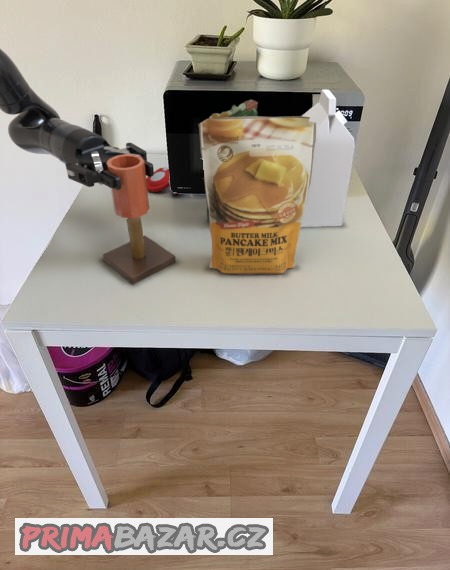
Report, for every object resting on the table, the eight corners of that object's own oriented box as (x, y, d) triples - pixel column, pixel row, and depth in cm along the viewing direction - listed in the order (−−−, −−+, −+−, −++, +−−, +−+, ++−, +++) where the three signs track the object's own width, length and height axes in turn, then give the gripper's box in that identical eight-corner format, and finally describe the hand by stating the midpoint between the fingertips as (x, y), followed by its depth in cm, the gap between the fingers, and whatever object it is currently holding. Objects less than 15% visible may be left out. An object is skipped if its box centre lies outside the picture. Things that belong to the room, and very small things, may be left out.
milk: (281, 200, 106) (293, 85, 89) (328, 199, 106) (349, 84, 90) (290, 227, 96) (305, 104, 80) (342, 226, 97) (367, 103, 80)
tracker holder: (135, 187, 108) (153, 162, 113) (143, 201, 111) (159, 176, 116) (178, 185, 102) (194, 159, 108) (185, 200, 105) (200, 174, 111)
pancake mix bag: (202, 254, 88) (198, 111, 70) (297, 254, 88) (318, 112, 71) (201, 275, 83) (197, 126, 65) (303, 275, 83) (326, 127, 65)
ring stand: (133, 284, 81) (126, 241, 75) (103, 260, 86) (94, 218, 80) (175, 262, 86) (172, 220, 80) (145, 241, 92) (140, 200, 86)
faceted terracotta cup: (119, 221, 76) (111, 171, 70) (111, 205, 80) (103, 157, 74) (153, 214, 78) (148, 165, 72) (143, 198, 82) (138, 152, 76)
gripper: (38, 139, 75) (95, 169, 67) (109, 119, 83) (167, 143, 75) (49, 180, 80) (103, 213, 71) (114, 157, 88) (170, 184, 79)
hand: (135, 177), depth 73 cm, fingers closed on faceted terracotta cup, 6 cm apart
